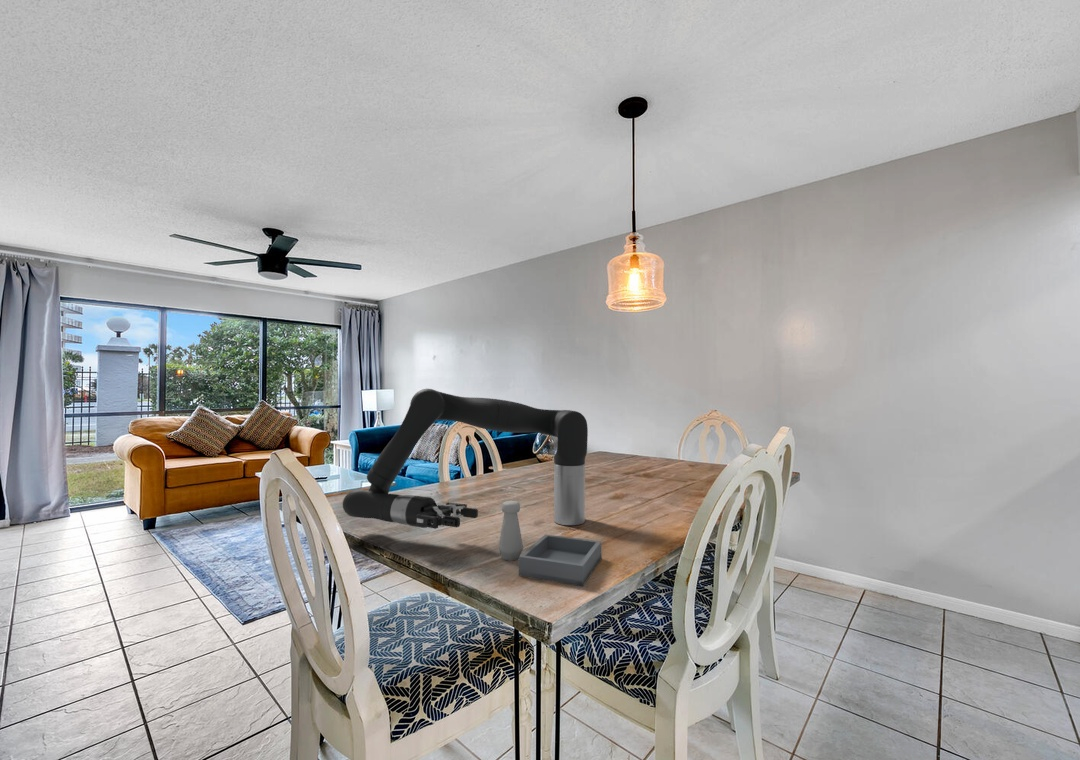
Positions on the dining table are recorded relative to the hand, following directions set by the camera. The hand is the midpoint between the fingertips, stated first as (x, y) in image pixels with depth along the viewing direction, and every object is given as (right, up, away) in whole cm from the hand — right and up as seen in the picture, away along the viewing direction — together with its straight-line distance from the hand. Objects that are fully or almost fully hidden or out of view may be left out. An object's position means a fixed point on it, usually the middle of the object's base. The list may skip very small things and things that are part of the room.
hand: (468, 517), depth 109 cm
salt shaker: (+11, -8, -4) cm, 14 cm away
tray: (+22, -8, -10) cm, 26 cm away
